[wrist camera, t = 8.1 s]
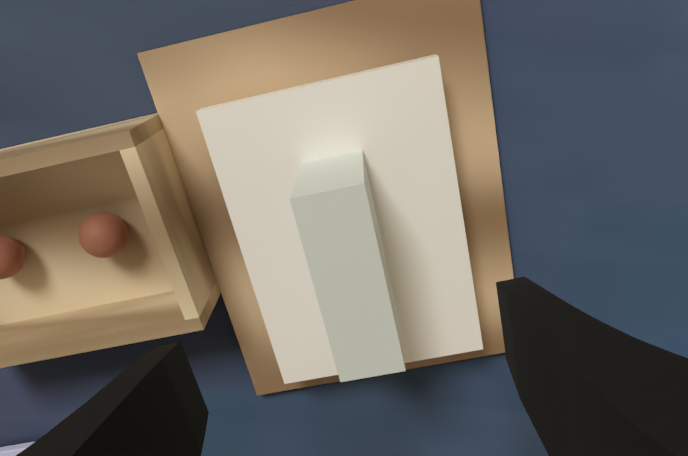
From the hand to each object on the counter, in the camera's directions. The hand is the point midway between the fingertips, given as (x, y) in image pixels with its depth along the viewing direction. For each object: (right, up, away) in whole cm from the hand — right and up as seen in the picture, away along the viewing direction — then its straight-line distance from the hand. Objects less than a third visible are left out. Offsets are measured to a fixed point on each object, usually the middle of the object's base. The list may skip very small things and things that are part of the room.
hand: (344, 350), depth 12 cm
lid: (0, +2, +7) cm, 7 cm away
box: (-10, +3, +8) cm, 14 cm away
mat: (0, +3, +8) cm, 9 cm away
